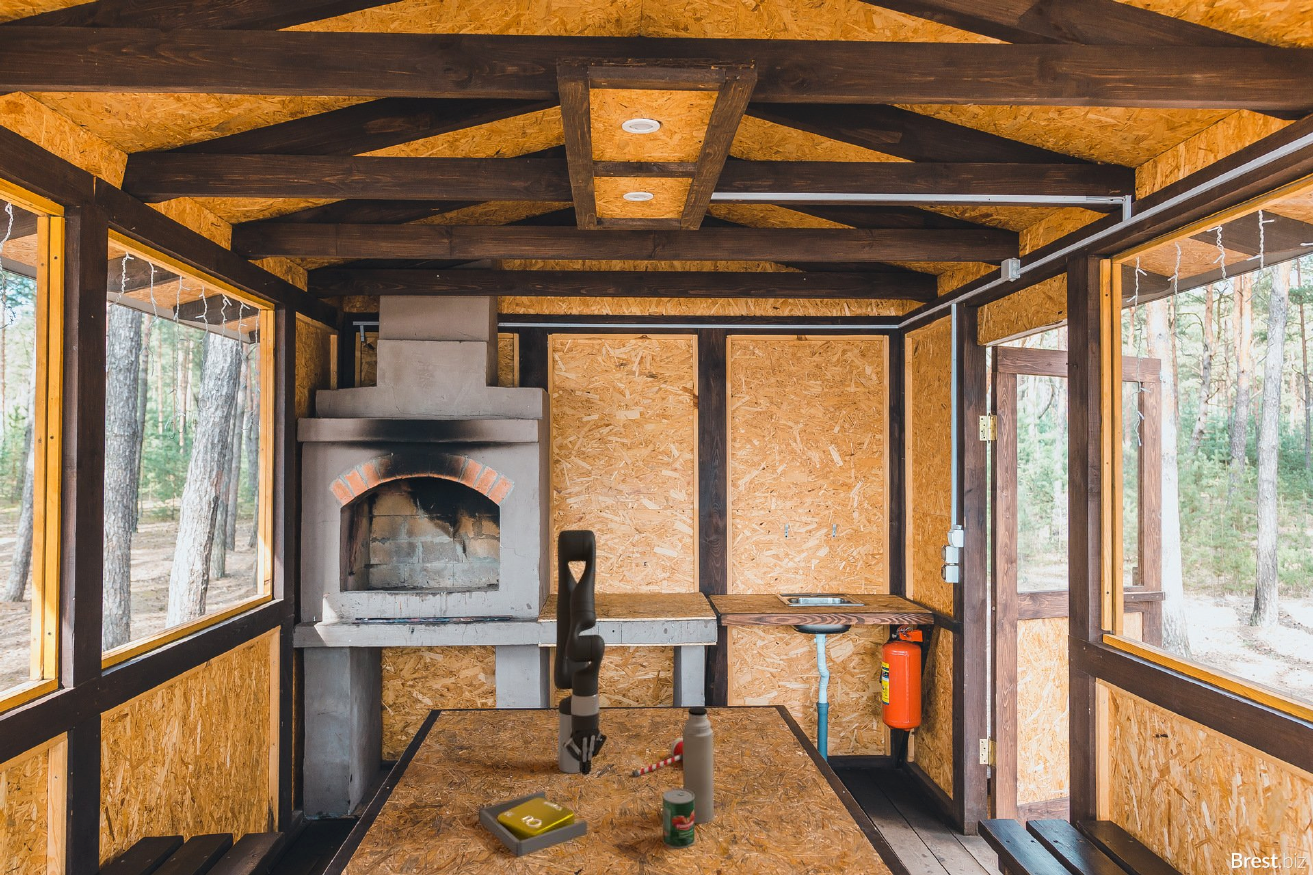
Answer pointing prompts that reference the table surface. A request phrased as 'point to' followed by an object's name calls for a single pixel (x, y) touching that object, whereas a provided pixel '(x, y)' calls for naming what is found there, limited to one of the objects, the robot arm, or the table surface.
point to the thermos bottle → (699, 763)
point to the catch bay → (532, 843)
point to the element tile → (535, 818)
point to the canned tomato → (678, 818)
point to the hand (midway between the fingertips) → (585, 773)
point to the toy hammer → (676, 754)
